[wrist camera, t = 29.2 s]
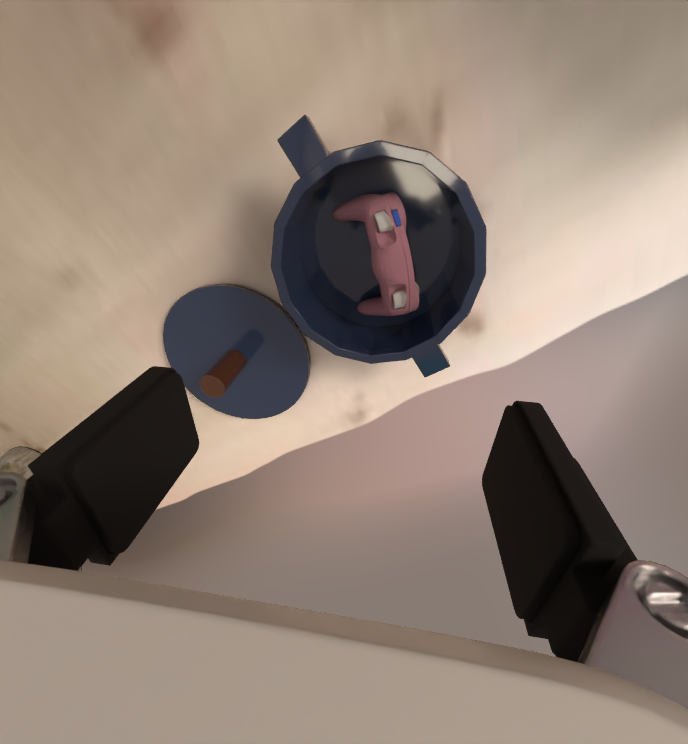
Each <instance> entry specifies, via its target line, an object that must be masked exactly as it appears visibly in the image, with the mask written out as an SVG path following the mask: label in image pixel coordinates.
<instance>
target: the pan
mask: <svg viewBox="0 0 688 744" xmlns="http://www.w3.org/2000/svg"><path fill="white" fill-rule="evenodd" d="M278 143H279V144H280V146H281V147H282V149H283V151H284V152H285V154H286V155H287V157H288V159H289V160H290V162H291V163H292V165H293V167H294V168H295V170H296V172H297V173H298V175H299V176H300V179H299V180H298V181H296V182H295V184H294V185H293V187H292V189H291V191H290V193H289V195H288V197H287V199H286V201H285V203H284V205H283V207H282V209H281V211H280V213H279V215H278V217H277V219H276V221H275V223H274V224H275V225H274V234H273V247H272V259H271V266H272V267H271V269H272V272H273V275H274V279H275V282H276V285H277V289H278V292H279V295H280V299H281V302H282V305H283V307H284V308H285V309H286V311H287V312H288V313H289V315H290V316H291V317H292V319H293V320H294V321H295V323H296V324H297V325H298V327H299V328H300V329H301V331H302V332H303V333H304V334H305V336H307V337H308V338H310V339H311V340H313V341H314V342H316V343H318V344H319V345H321V346H322V347H324V348H325V349H327V350H328V351H330V352H331V353H333V354H334V355H337V356H341V357H346V358H350V359H354V360H358V361H362V362H366V363H370V364H372V363H381V362H391V361H401V360H406V359H409V358H411V357H412V358H413V360H414V361H415V363H416V364H417V366H418V368H419V369H420V371H421V372H422V374H423V376H424V377H427V376H430V375H432V374H434V373H436V372H438V371H441V370H443V369H445V368H447V367H450V364H449V360H448V358H447V357H446V355H445V353H444V352H443V350H442V348H441V346H440V345H439V344H440V343H442V341H443V340H444V339H445V338H446V337H447V336H448V335H449V334H450V333H451V332H452V331H453V330H454V329H455V328H456V327H457V326H458V325H459V324H460V323H461V322H462V321H463V320H464V319H465V318H466V317H467V316H468V314H469V313H470V311H471V308H472V306H473V304H474V301H475V299H476V296H477V294H478V292H479V289H480V287H481V285H482V282H483V280H484V278H485V275H486V226H485V223H484V221H483V219H482V217H481V214H480V212H479V210H478V207H477V205H476V203H475V201H474V198H473V196H472V194H471V192H470V189H469V187H468V185H467V183H466V182H465V181H463V180H462V179H461V178H460V177H459V176H458V175H456V174H455V173H454V172H453V171H452V170H450V169H449V168H448V167H447V166H446V165H445V164H443V163H442V162H441V161H440V160H439V159H437V158H436V157H435V156H434V155H433V154H432V153H430V152H428V151H425V150H421V149H416V148H412V147H408V146H403V145H399V144H395V143H390V142H386V141H382V140H381V141H379V140H378V141H374V142H370V143H366V144H362V145H358V146H354V147H350V148H346V149H342V150H338V151H334V152H332V153H329V151H328V150H327V148H326V146H325V144H324V143H323V141H322V139H321V137H320V136H319V134H318V132H317V130H316V129H315V127H314V125H313V123H312V122H311V120H310V118H309V117H308V116H306V115H304V116H303V117H302V118H300V119H299V120H298V121H297V122H296V123H295V124H294V125H293V126H292V127H291V128H290V129H288V130H287V131H286V132H285V133H284V134H283V135H282V136H281V137H280V138H279V139H278ZM389 192H394V193H396V194H397V195H398V197H399V198H400V200H401V202H402V204H403V207H404V210H405V214H406V235H407V239H408V243H409V247H410V252H411V257H412V263H413V270H414V278H415V282H416V283H417V284H418V286H419V305H418V308H417V310H415V311H412V312H410V313H407V314H405V315H396V316H374V315H364V314H362V313H360V312H359V311H358V309H357V306H358V304H359V303H361V302H362V301H364V300H367V299H370V298H375V297H380V296H381V290H380V285H379V282H378V280H377V279H376V277H375V274H374V272H373V269H372V263H371V246H370V242H369V239H368V235H367V230H366V226H365V223H364V222H362V221H339V220H336V219H335V218H333V217H332V212H333V210H334V209H335V208H336V207H337V206H339V205H340V204H342V203H344V202H346V201H349V200H351V199H353V198H356V197H359V196H362V195H367V194H380V195H382V194H385V193H389Z"/></svg>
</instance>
